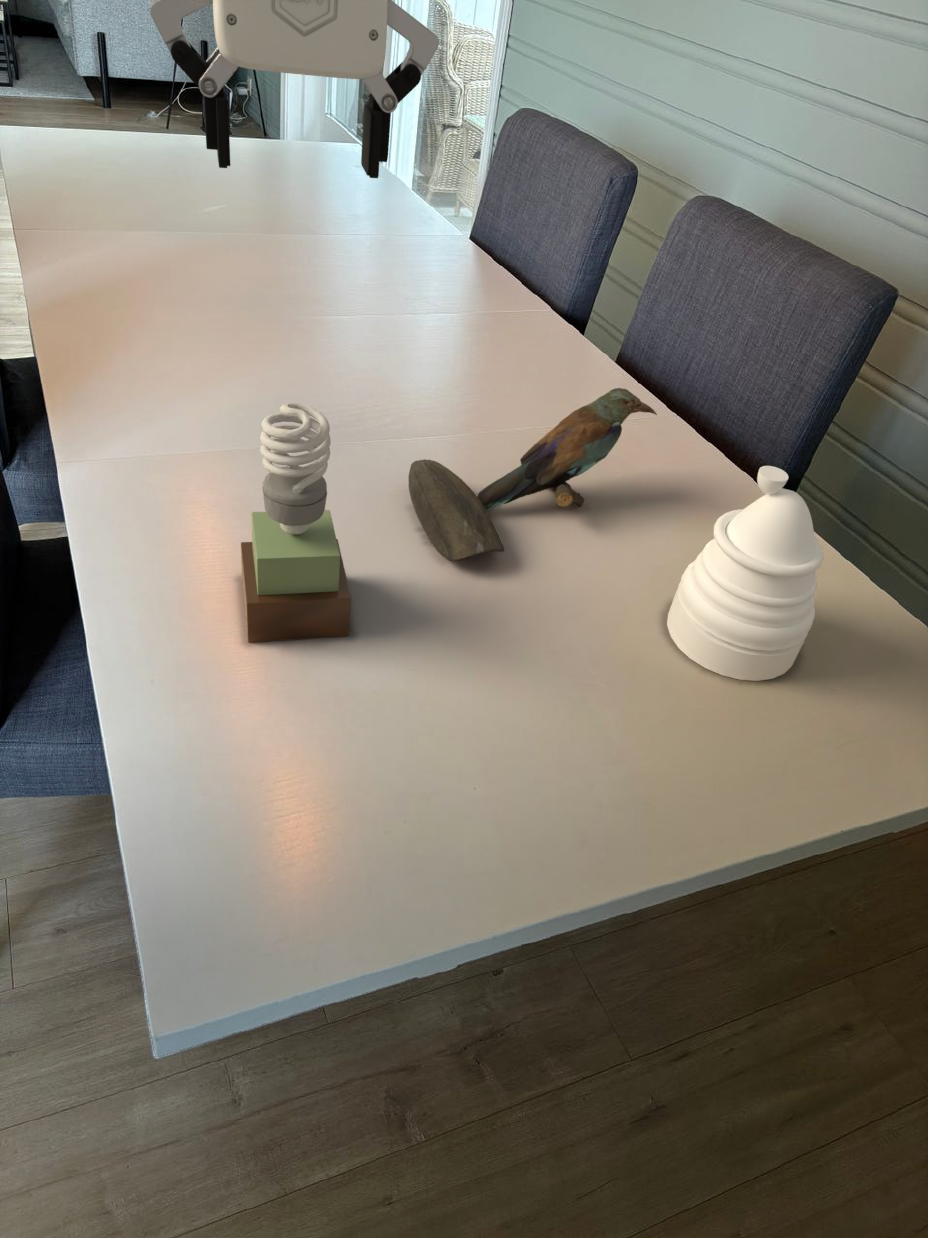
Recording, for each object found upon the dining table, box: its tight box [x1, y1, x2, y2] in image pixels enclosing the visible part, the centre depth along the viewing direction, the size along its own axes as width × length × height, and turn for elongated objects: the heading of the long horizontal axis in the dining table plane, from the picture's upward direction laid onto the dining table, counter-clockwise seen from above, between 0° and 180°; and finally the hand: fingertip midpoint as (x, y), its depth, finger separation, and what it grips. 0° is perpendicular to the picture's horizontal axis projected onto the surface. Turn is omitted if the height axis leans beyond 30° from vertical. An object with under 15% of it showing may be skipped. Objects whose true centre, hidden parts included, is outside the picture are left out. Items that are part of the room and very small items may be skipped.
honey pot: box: [666, 465, 825, 682], centre depth 85 cm, size 13×13×18 cm
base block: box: [240, 538, 352, 643], centre depth 84 cm, size 9×9×4 cm
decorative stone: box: [408, 459, 505, 562], centre depth 97 cm, size 17×6×4 cm, turn 24°
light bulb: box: [259, 402, 332, 535], centre depth 76 cm, size 6×6×12 cm
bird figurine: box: [476, 387, 658, 513], centre depth 101 cm, size 13×10×20 cm
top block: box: [250, 509, 340, 595], centre depth 81 cm, size 7×7×4 cm
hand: (298, 167), depth 61 cm, fingers open, 9 cm apart
